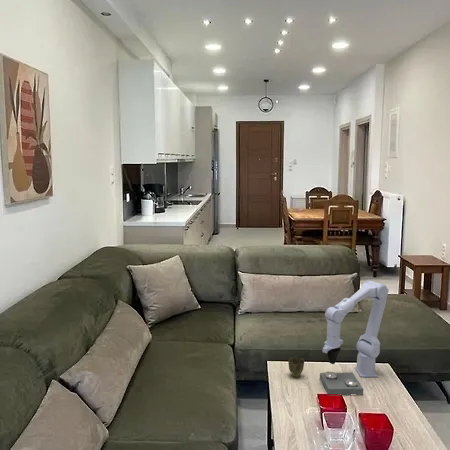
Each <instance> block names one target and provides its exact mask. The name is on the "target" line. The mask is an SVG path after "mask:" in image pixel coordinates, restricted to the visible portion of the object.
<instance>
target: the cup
mask: <svg viewBox="0 0 450 450" xmlns="http://www.w3.org/2000/svg"><path fill="white" fill-rule="evenodd" d="M287 361H288V370H289V372H290V373H291V376H292V377H294V378H300V375H301V373H303V371H304V366H305V359H304V358H302V357H300V358H298V356H291V357H289V358H288V359H287Z"/></svg>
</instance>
